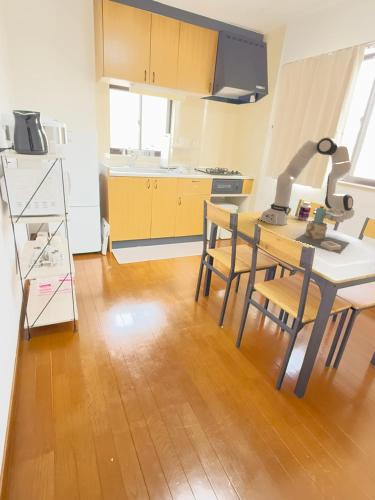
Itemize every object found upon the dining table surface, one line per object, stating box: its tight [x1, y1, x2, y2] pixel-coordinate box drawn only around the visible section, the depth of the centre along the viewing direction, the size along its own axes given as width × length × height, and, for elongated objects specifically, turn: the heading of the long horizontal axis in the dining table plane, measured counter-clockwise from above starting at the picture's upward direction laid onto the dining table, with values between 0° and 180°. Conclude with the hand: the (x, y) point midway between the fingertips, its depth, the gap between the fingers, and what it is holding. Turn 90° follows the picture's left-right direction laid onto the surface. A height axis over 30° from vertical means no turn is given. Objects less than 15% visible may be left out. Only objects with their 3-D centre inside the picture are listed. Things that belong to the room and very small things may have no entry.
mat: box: [294, 232, 350, 255], centre depth 179 cm, size 28×28×1 cm
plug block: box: [313, 205, 327, 224], centre depth 183 cm, size 4×4×13 cm
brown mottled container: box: [304, 220, 328, 239], centre depth 186 cm, size 9×9×10 cm
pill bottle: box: [297, 201, 312, 221], centre depth 230 cm, size 8×8×14 cm
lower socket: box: [320, 241, 341, 252], centre depth 169 cm, size 8×8×2 cm
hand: (318, 215), depth 182 cm, fingers open, 8 cm apart
